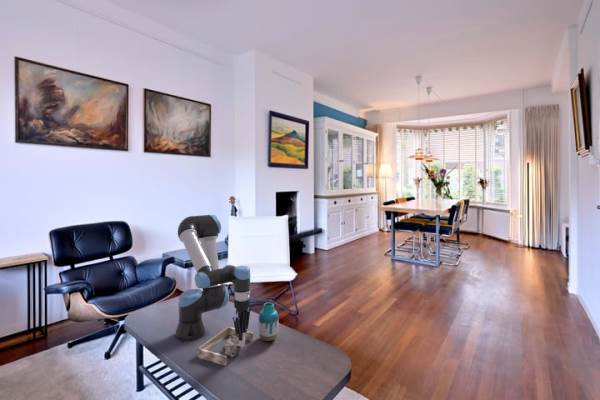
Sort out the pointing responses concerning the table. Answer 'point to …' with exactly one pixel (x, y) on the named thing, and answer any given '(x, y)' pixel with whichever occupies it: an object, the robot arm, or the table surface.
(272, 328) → the vase
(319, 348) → the table surface
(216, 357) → the u-shaped wooden frame
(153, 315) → the table surface
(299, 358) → the table surface
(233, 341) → the mineral rock
